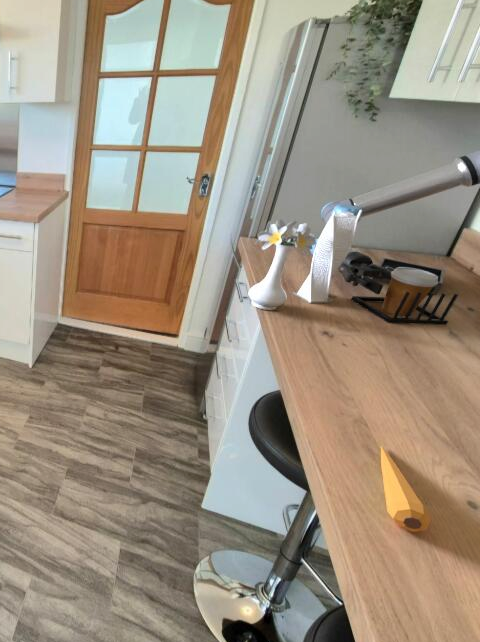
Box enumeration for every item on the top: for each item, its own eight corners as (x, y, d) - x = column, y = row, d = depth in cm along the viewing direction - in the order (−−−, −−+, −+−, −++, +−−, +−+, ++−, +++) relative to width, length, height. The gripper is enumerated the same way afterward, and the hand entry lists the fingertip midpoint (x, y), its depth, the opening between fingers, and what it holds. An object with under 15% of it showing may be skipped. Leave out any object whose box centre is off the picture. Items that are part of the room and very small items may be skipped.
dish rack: (403, 301, 128) (418, 273, 124) (446, 324, 115) (464, 295, 111) (350, 299, 129) (363, 272, 125) (388, 322, 116) (403, 293, 112)
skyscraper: (336, 305, 126) (378, 211, 113) (310, 305, 125) (349, 211, 112) (313, 292, 133) (351, 203, 120) (289, 293, 132) (323, 203, 120)
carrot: (414, 542, 61) (445, 527, 59) (381, 519, 62) (410, 503, 60) (382, 460, 77) (405, 446, 75) (357, 443, 78) (378, 429, 76)
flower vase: (294, 301, 128) (327, 219, 116) (282, 323, 116) (317, 234, 104) (245, 288, 135) (271, 210, 124) (229, 308, 123) (256, 224, 112)
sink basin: (377, 268, 151) (382, 257, 149) (438, 281, 141) (444, 270, 139) (371, 280, 141) (376, 269, 140) (435, 295, 132) (442, 283, 130)
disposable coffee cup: (366, 306, 125) (384, 268, 119) (388, 302, 127) (407, 264, 122) (404, 322, 117) (426, 282, 111) (427, 316, 119) (449, 277, 114)
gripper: (386, 274, 139) (446, 304, 120) (306, 271, 141) (353, 300, 122) (397, 252, 136) (460, 280, 117) (314, 250, 137) (364, 276, 118)
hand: (405, 290), depth 119 cm, fingers open, 13 cm apart
